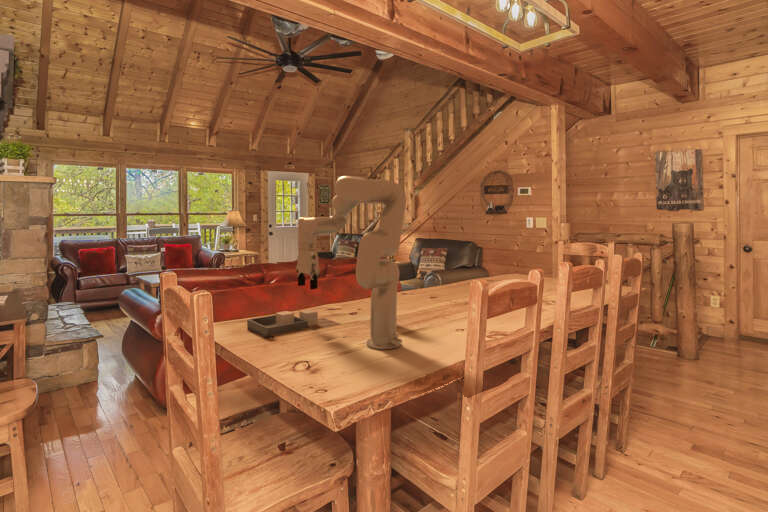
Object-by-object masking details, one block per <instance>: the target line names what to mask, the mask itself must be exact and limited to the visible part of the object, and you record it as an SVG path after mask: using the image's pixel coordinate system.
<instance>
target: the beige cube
mask: <svg viewBox="0 0 768 512" xmlns="http://www.w3.org/2000/svg"><path fill="white" fill-rule="evenodd" d="M318 313H319V312H318V311H316V310H313V309H306V310H299V318H301V319H304V320H307V321H308V326H312V325H317V324H318V319H319V317H318V316H319V315H318Z"/></svg>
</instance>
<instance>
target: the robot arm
mask: <svg viewBox="0 0 768 512" xmlns="http://www.w3.org/2000/svg"><path fill="white" fill-rule="evenodd" d="M334 193H335V195H334V197H333V198H332V199H331V206H332V209H333V210H334V211H335V212H334V213H333V214H332V215H331V216H318V217H317V216H315V217H311V216H310V217H309V216H304V217H303V216H301V217H299V218H298V220H297V227H298V228H297V243H298V244H297V248H298V249H297V250H298V252H297V264H296V265H295V269H296V276H297V286H298V287H302V286H306V275H308V276H309V277H310V279H309V290H317V289H318V279H319V277H320V272H321V270H320V267H319V264H320V263H319V256H318V255H319V254H318V251H317V237H320V236H323V237H324V236H332V235H336V234H337V233H338V232H340V231H341V230H342V229H343V228H344V227H345V226H346V225H347V223H348V221H349V218H350V213H351V212H352V211H354V209H356V208H357V207H358V206H359V205H360V204H366V205H367V204H368V205H370V204H371V205H374V204H375V205H376V204H377V205H384V207H383V209H382V210H381V212H380V214H379V217H378V224H377V225H378V226H377V229H376V230H370V231H367V232H366V233H365V234H363V235H362V237H361V238H360V240H359V244H358V249H357V260H356V267H355V279H356V282H357V284H358V285H359V286H360V288H363V289H366V290H371V294H370V338H369V339H367V340H366V343H365V344H366V346H367V347H368V348H371V349H375V350H392V349H396V348H398V347H399V348H400V346H401V344H402V342H403V339H402V338H399V334H398V333H397V310H398V309H397V304H398V301H397V299H398V298H397V297H398V286H399V282H400V268H399V266H398V264H397V263H396V262H395V260H391V259H388V257H392V256H395V255H397V254H398V252H399V250H400V246H401V244H400V243H401V238H402V237H401V236H402V230H403V222H404V217H405V212H406V207H407V196H406V192H405V190H404V189H403V187H402V186H401V185H400V184H398V183H397V182H395V181H392V180H388V179H376V178H375V179H374V178H365V177H363V176H358V175H356V176H354V175H342V176H340V177H339V178H338V179H337V180H336V181H335V183H334ZM381 258H382V259H381ZM385 258H386V259H385ZM372 288H373V290H372Z"/></svg>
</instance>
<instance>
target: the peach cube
mask: <svg viewBox="0 0 768 512" xmlns="http://www.w3.org/2000/svg"><path fill="white" fill-rule="evenodd" d="M275 315H276V326H279V325H285V324H290V323H294V316H295V313H294V312H292V311H288V310H285V311H279V312H275Z"/></svg>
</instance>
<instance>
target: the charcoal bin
mask: <svg viewBox="0 0 768 512" xmlns="http://www.w3.org/2000/svg"><path fill="white" fill-rule="evenodd" d="M246 322H247V323H246V325H247V330H249V331H251V332H252V333H254V334H256V335H259V336H261V337H264V338H265V339H271V338H274V335H278V334H280V335H281V334H285V333H290V332H294V331H300V330H304V329H309V328H308V321H307V320H304V319H301V318H300V317H298V316H295V315H294V323H290V324H285V325H279V326H276V314H273V315H266V316H261V317H253V318H248V319H247V321H246Z"/></svg>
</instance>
